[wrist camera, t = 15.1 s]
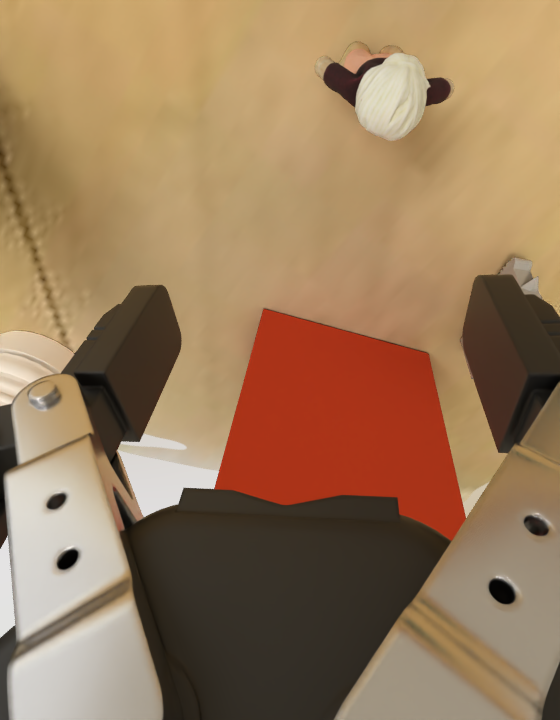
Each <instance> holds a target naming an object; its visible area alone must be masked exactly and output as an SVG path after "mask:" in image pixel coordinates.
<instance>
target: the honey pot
mask: <svg viewBox="0 0 560 720" xmlns="http://www.w3.org/2000/svg"><path fill="white" fill-rule="evenodd" d="M73 356H74V353H73V352H72V351H71V350H69V349H68V348H66V347H65V346H63V345H61V344H60V343H58V342H57V341H55V340H52V339H50V338H48V337H45V336H43V335H40V334H36V333H32V332H28V331H10V332H5V333H2V334H0V406H3V405H8V404H12V401H13V399H14V398H15V396H16V395H17V394H18V393H19V392H20V391H21V390H22V389H23V388H24V387H25V386H27V385H28V384H30V383H32V382H33V381H35V380H37V379H39V378H42V377H45V376H48V375H52V374H60V373H61V372H62V371H63V369H64V368H65V367H66V365H67V364H68V362H69V361H70V360H71V358H72V357H73Z"/></svg>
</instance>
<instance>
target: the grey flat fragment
mask: <svg viewBox="0 0 560 720" xmlns="http://www.w3.org/2000/svg"><path fill="white" fill-rule="evenodd" d="M531 267H532V261H531V260H526V259H521V258H516V257H514V258H511V261H508V263H506V267H504V266H503V270H502V269H501V270H500V272H501V274H499V273H498V275H503V274H511V275H513V276H514V278H515V279H516V281H517V283H518V284H519V286H520V288H521V289H522V291H523V293H524V294H535V295H536V296H538V297H539V298H541V299H542V297H541V295H540V293H539V291H538V276H537V277H535V278H534V279H533V277H532V275H531V272H530V270H531ZM460 342H461V345H462V348H463V337H461V339H460ZM463 352H464V349H463ZM464 355H465V352H464ZM465 358H466V355H465ZM466 362H467V365H468V368H469V372H470V375H471V378H472V379H473V376H472V373H471V370H470V367H469V364H468V361H467V358H466Z"/></svg>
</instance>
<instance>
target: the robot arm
mask: <svg viewBox="0 0 560 720" xmlns="http://www.w3.org/2000/svg"><path fill="white" fill-rule="evenodd" d="M180 349H181V332H180V328H179V325H178V322H177V319H176V316H175V313H174V310H173V307H172V303H171V300H170V297H169V294H168V291H167V289H166V288H165V287H164V286H163V285H146V286H135V287H133V288H132V290H131V291H130V293H129V294H128V295H127V297H126V298H125V300H124V301H123V303H122V304H118V305H116V306H115V307H114V308H112V309H111V310H110V311H108V312H107V313H106V314H104V315H103V316H102V318H101V319H100V320H99V322H98V323H97V324H96V326H95V327H94V330H92V331H91V333H90V334H89V335H88V337H87V340H85V341H84V342H83V343H82V345H81V346H80V347H79V349H78V350H77V352H76V353H75V354H74V356H73V357H72V358H71V360H70V361H69V362H68V364H67V365H66V367H65V368H64V369H63V371H62V372H61V373H60V374H52V375H48V376H45V377H42V378H39V379H37V380H35V381H33V382H32V383H30V384H28V385H27V386H25V387H24V388H23V389H22V390H21V391H20V392H19V393H18V394H17V395H16V396H15V398H14V399H13V401H12V404H8V405H3V406H0V548H1V547H2V545H3V543H4V541H5V540H6V538H7V536H8V541H9V553H10V565H11V576H12V589H13V600H14V613H15V626H13V627H12V628H11V629H10V630H9V631H8V632H7V633H5V634H4V635H3V636H2V637H1V638H0V720H560V317H559V316H558V314H557V313H556V311H555V310H554V308H553V307H552V306H551V305H550V304H548V303H547V302H545V301H544V300H542V299H541V298H539V297H538V296H536V295H535V294H524V293H523V291H522V289H521V288H520V286H519V284H518V283H517V281H516V279H515V278H514V276H513V275H511V274H503V275H478V276H477V277H476V278H475V280H474V283H473V287H472V291H471V296H470V300H469V305H468V309H467V313H466V318H465V322H464V327H463V349H464V352H465V355H466V358H467V361H468V364H469V367H470V370H471V373H472V376H473V379H474V382H475V385H476V388H477V391H478V394H479V397H480V400H481V403H482V406H483V408H484V411H485V414H486V417H487V420H488V423H489V426H490V429H491V432H492V435H493V438H494V441H495V444H496V447H497V450H498V453H508V455H507V456H506V458H505V459H504V461H503V462H502V464H501V466H500V467H499V469H498V470H497V472H496V473H495V475H494V476H493V478H492V479H491V481H490V483H489V484H488V486H487V487H486V489H485V490H484V492H483V493H482V495H481V497H480V498H479V500H478V501H477V503H476V504H475V506H474V507H473V509H472V510H471V512H470V513H469V515H468V517H467V518H466V520H465V521H464V523H463V524H462V526H461V527H460V529H459V530H458V532H457V534H456V535H455V537H454V538H453V540H452V541H451V540H450V539H448V538H447V537H445V536H444V535H442V534H441V533H440V532H438V531H437V530H435V529H433V528H431V527H429V526H428V525H426V524H424V523H422V522H419V521H417V520H415V519H412V518H410V517H407V516H404V515H400V514H399V506H398V497H382V496H359V495H338V496H333V497H328V498H323V499H317V500H312V501H307V502H302V503H297V504H292V505H281V504H278V503H274V502H271V501H268V500H264V499H261V498H258V497H255V496H251V495H248V494H245V493H241V492H238V491H235V490H221V489H197V488H184V489H183V492H182V495H181V498H180V501H179V504H178V505H173V506H170V507H167V508H164V509H161V510H159V511H156V512H154V513H152V514H150V515H148V516H146V517H143V515H142V513H141V510H140V508H139V505H138V503H137V500H136V497H135V494H134V492H133V489H132V486H131V484H130V481H129V478H128V476H127V473H126V470H125V467H124V465H123V462H122V459H121V457H120V455H119V453H118V451H117V449H118V447H119V445H120V443H121V441H129V442H140V439H141V437H142V435H143V433H144V431H145V428H146V426H147V424H148V422H149V420H150V417H151V415H152V413H153V411H154V408H155V406H156V404H157V402H158V400H159V397H160V395H161V393H162V391H163V388H164V386H165V384H166V382H167V379H168V377H169V375H170V373H171V371H172V368H173V366H174V364H175V362H176V359H177V357H178V355H179V353H180Z"/></svg>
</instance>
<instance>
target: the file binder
mask: <svg viewBox="0 0 560 720" xmlns="http://www.w3.org/2000/svg"><path fill="white" fill-rule="evenodd" d="M214 489H221V490H235V491H238V492H241V493H245V494H248V495H251V496H255V497H258V498H261V499H264V500H268V501H271V502H274V503H278V504H281V505H292V504H297V503H302V502H307V501H312V500H317V499H323V498H328V497H333V496H338V495H359V496H382V497H398V506H399V514H400V515H404V516H407V517H410V518H412V519H415V520H417V521H419V522H422V523H424V524H426V525H428V526H429V527H431V528H433V529H435V530H437V531H438V532H440V533H441V534H442V535H444V536H445V537H447V538H448V539H450V540H451V541H452V540H453V538H454V537H455V535H456V534H457V532H458V530H459V529H460V527H461V526H462V524H463V523H464V521H465V520H466V516H465V512H464V507H463V503H462V499H461V494H460V490H459V485H458V481H457V477H456V472H455V468H454V463H453V459H452V455H451V450H450V446H449V442H448V437H447V433H446V428H445V424H444V420H443V415H442V411H441V406H440V402H439V398H438V393H437V389H436V385H435V380H434V376H433V371H432V367H431V363H430V358H429V354H427V353H424V352H421V351H417V350H413V349H410V348H406V347H402V346H399V345H395V344H391V343H388V342H384V341H380V340H377V339H373V338H369V337H366V336H362V335H358V334H354V333H351V332H347V331H343V330H340V329H336V328H332V327H329V326H325V325H321V324H318V323H314V322H310V321H307V320H303V319H299V318H296V317H292V316H288V315H285V314H281V313H277V312H274V311H270V310H266V309H263V313H262V316H261V320H260V324H259V327H258V331H257V335H256V338H255V342H254V346H253V349H252V353H251V357H250V360H249V364H248V368H247V371H246V375H245V379H244V382H243V386H242V390H241V393H240V397H239V401H238V404H237V408H236V412H235V415H234V419H233V422H232V426H231V430H230V433H229V437H228V441H227V444H226V448H225V452H224V455H223V459H222V463H221V466H220V470H219V474H218V477H217V481H216V485H215V488H214Z"/></svg>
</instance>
